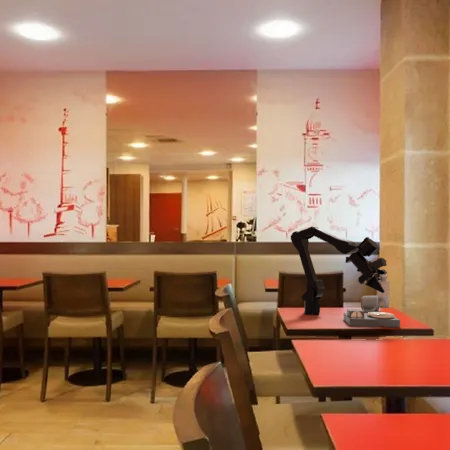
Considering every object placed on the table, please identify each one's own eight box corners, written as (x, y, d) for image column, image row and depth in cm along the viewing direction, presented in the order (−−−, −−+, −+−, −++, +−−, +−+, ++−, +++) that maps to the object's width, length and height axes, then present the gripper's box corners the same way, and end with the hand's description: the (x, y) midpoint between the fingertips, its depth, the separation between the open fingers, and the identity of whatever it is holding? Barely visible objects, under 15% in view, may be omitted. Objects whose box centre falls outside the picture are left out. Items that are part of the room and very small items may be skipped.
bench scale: (349, 326, 204) (349, 312, 204) (343, 319, 219) (343, 306, 219) (400, 327, 203) (400, 313, 203) (390, 321, 218) (390, 308, 218)
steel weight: (375, 307, 211) (376, 275, 211) (377, 305, 216) (377, 274, 216) (388, 308, 209) (388, 275, 209) (389, 306, 214) (390, 275, 214)
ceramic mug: (362, 309, 251) (362, 293, 251) (379, 310, 247) (379, 294, 247) (359, 312, 241) (359, 296, 241) (377, 313, 238) (377, 297, 238)
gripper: (365, 251, 208) (391, 280, 201) (383, 250, 222) (407, 277, 215) (347, 269, 213) (372, 298, 206) (365, 267, 227) (389, 294, 220)
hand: (386, 291), depth 212 cm, fingers closed on steel weight, 5 cm apart
